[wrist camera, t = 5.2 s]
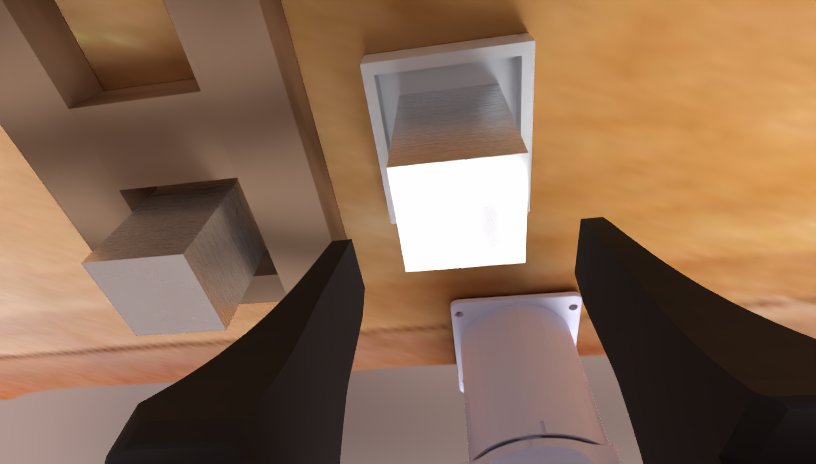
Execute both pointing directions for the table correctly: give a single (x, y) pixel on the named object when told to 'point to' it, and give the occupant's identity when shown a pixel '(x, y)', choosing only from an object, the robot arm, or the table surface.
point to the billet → (458, 179)
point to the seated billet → (181, 258)
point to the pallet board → (175, 127)
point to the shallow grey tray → (449, 84)
